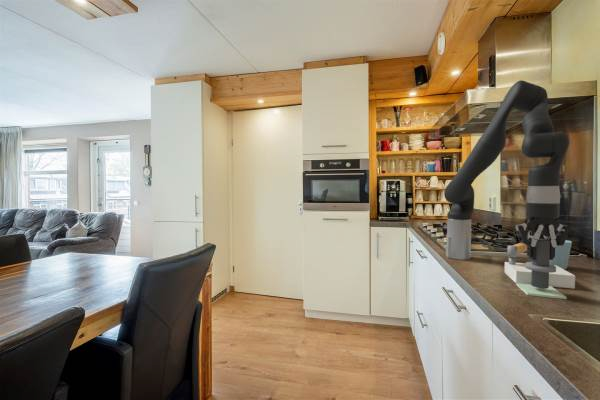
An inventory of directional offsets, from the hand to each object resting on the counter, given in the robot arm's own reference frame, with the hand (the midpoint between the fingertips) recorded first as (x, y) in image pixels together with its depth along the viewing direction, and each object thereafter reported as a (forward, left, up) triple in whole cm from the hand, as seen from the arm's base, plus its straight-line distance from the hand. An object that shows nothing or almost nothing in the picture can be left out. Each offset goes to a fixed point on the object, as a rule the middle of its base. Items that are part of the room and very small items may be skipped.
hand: (540, 258), depth 85 cm
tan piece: (+1, +21, -3) cm, 21 cm away
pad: (0, 0, -10) cm, 10 cm away
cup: (+17, +33, -10) cm, 38 cm away
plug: (0, 0, -8) cm, 8 cm away
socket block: (+4, +12, -10) cm, 16 cm away
